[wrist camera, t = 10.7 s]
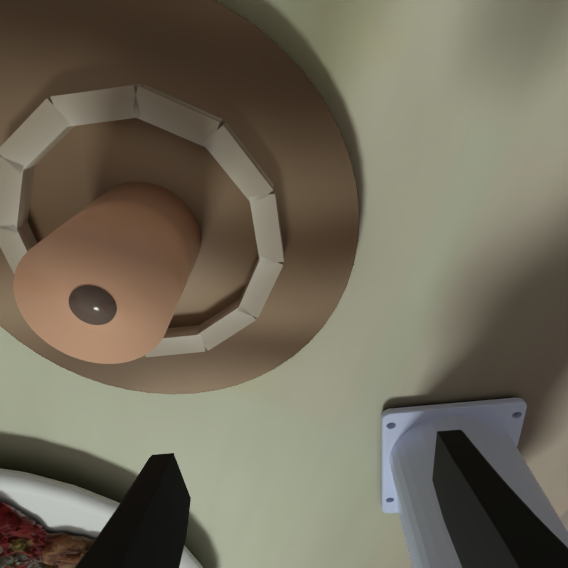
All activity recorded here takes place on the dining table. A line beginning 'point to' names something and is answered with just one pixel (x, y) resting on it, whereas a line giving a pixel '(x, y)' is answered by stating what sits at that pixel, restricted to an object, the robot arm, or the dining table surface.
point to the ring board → (179, 174)
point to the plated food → (52, 522)
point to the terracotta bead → (110, 274)
